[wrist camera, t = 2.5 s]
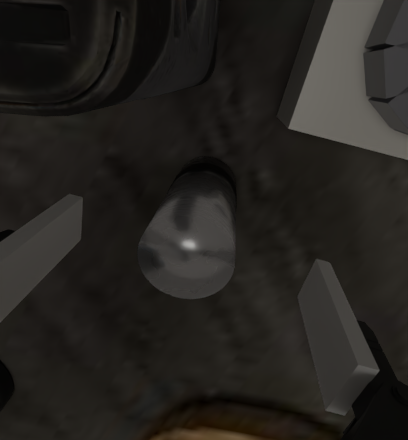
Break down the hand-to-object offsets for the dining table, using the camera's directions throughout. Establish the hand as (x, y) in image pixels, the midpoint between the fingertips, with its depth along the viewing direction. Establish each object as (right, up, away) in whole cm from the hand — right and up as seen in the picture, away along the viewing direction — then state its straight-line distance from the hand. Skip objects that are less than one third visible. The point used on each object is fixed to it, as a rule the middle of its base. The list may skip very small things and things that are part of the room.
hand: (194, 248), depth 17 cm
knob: (+1, +5, +10) cm, 11 cm away
